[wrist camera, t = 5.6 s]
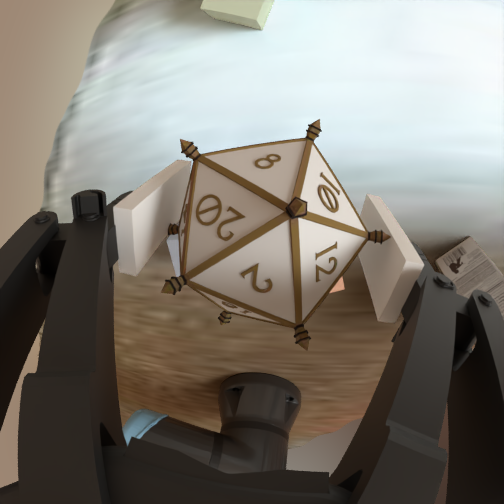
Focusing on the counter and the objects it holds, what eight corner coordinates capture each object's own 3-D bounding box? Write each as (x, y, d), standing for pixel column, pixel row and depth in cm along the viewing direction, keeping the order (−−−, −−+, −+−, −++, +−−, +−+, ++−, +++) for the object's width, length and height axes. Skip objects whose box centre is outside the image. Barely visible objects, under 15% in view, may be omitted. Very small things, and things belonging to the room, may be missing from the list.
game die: (249, 192, 20) (107, 259, 14) (303, 78, 13) (98, 105, 7) (345, 296, 17) (219, 412, 12) (447, 204, 11) (324, 377, 5)
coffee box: (486, 279, 33) (536, 362, 20) (452, 302, 36) (492, 391, 23) (471, 233, 31) (537, 318, 17) (432, 260, 33) (484, 356, 20)
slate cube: (228, 254, 37) (219, 279, 33) (190, 255, 38) (177, 279, 34) (222, 217, 35) (211, 238, 30) (181, 219, 35) (166, 240, 31)
